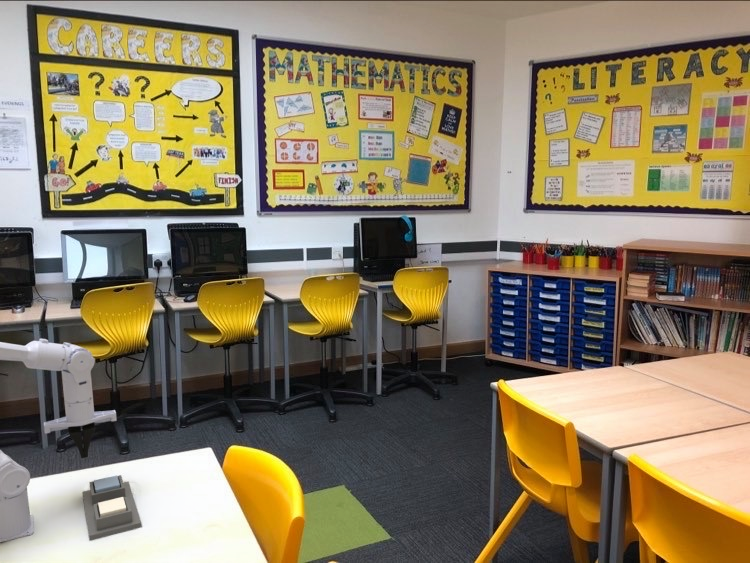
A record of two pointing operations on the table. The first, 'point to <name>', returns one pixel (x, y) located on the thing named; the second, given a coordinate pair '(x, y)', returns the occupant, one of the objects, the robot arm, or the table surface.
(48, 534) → the table surface
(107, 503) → the white key
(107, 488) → the blue key
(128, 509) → the key board
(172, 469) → the table surface
